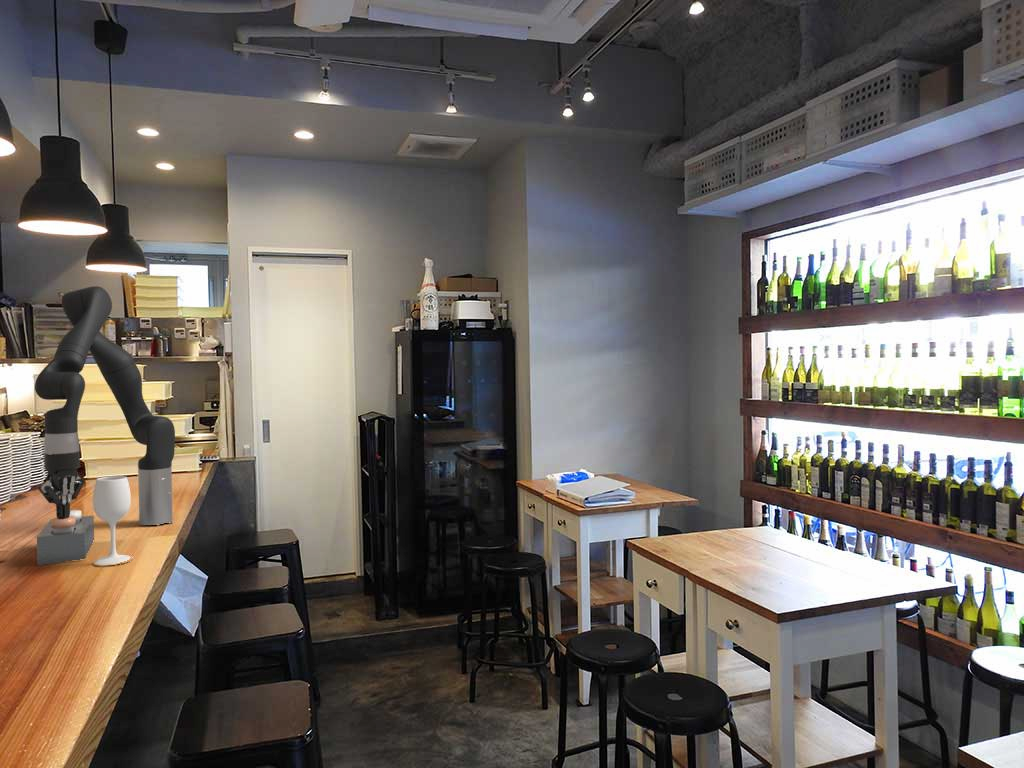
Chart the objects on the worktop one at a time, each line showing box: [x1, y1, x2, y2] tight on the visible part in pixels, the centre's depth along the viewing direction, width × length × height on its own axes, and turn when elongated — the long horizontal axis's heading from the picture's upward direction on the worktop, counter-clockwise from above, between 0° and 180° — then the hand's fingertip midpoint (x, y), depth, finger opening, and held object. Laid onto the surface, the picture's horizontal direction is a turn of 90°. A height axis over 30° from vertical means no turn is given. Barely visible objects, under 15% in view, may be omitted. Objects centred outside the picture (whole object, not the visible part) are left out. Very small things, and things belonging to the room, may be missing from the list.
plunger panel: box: [36, 515, 95, 566], centre depth 184 cm, size 10×22×7 cm, turn 26°
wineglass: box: [92, 475, 132, 565], centre depth 175 cm, size 9×9×21 cm
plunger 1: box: [50, 516, 76, 534], centre depth 178 cm, size 5×5×7 cm
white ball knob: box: [69, 509, 83, 522], centre depth 189 cm, size 5×5×7 cm
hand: (63, 518), depth 178 cm, fingers closed
